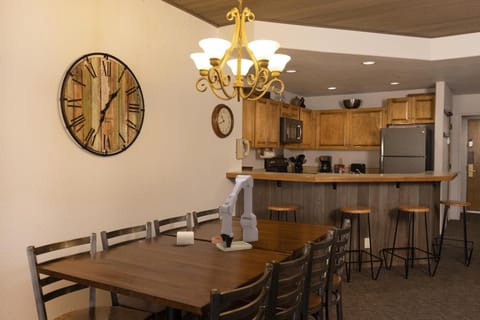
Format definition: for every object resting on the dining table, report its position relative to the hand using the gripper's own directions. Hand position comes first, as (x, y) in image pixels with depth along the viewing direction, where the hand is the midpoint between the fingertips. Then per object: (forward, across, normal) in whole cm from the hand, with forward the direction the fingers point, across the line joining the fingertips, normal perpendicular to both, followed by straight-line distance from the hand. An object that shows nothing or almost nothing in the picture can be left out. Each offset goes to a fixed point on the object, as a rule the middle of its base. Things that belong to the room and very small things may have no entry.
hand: (227, 246), depth 231 cm
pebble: (+1, 0, 0) cm, 1 cm away
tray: (+2, 0, +4) cm, 5 cm away
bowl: (+2, -14, +2) cm, 15 cm away
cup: (-2, -21, -14) cm, 26 cm away
